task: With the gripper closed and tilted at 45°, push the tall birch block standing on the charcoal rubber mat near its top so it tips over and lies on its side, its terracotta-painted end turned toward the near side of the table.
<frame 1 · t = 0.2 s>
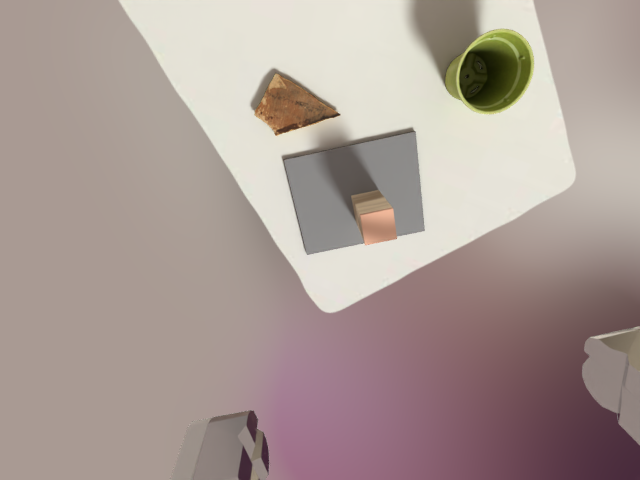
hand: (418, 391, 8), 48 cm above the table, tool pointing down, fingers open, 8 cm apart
plant pot: (464, 77, 50), on the table
birch block: (366, 205, 56), point 1 cm above the table, touching rubber mat
rubber mat: (357, 196, 56), on the table
shard: (294, 100, 50), on the table
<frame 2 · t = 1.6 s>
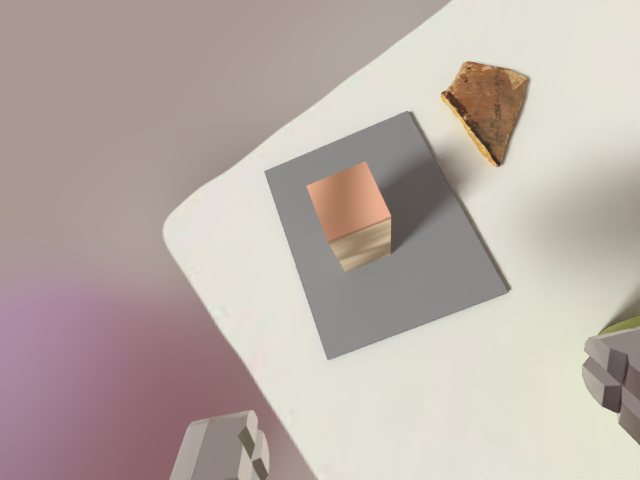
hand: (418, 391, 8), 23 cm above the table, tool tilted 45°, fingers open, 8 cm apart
plant pot: (633, 362, 26), on the table
birch block: (359, 242, 33), point 1 cm above the table, touching rubber mat
rubber mat: (371, 226, 33), on the table
shard: (493, 113, 35), on the table
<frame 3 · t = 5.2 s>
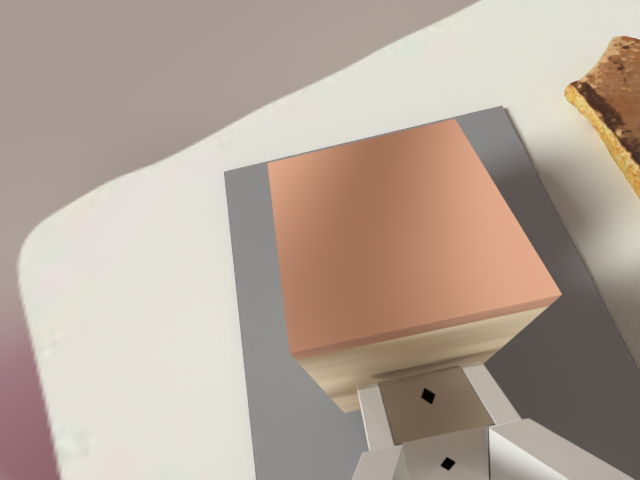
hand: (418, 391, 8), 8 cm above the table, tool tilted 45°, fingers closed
birch block: (383, 347, 15), point 1 cm above the table, tilted 11°, touching rubber mat
rubber mat: (411, 315, 16), on the table
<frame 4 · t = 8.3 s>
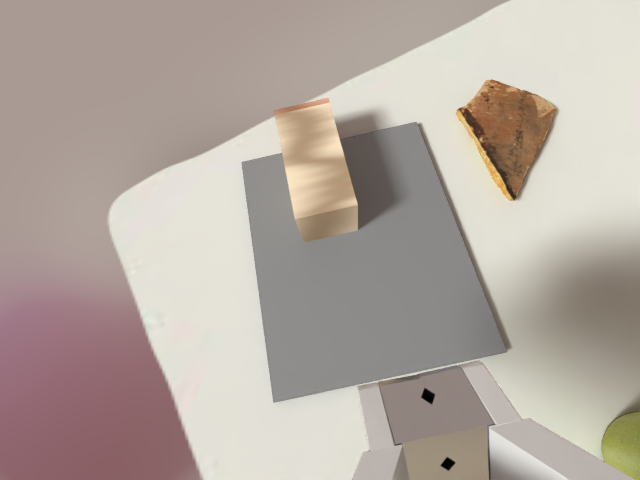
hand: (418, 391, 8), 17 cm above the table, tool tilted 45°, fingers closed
birch block: (328, 225, 26), point 3 cm above the table, tilted 90°, touching rubber mat
rubber mat: (354, 245, 28), on the table
shard: (513, 141, 31), on the table
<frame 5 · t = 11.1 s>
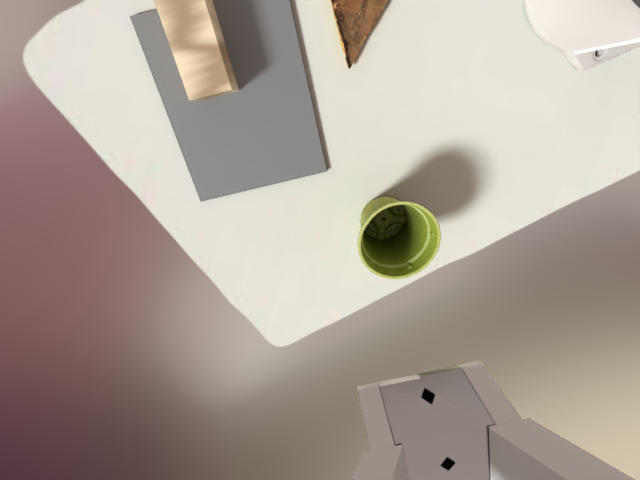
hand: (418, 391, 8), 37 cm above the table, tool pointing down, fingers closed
plant pot: (382, 216, 46), on the table
birch block: (215, 95, 37), point 3 cm above the table, tilted 90°, touching rubber mat
rubber mat: (238, 101, 40), on the table
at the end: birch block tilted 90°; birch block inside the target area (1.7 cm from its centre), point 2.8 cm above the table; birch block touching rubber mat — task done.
